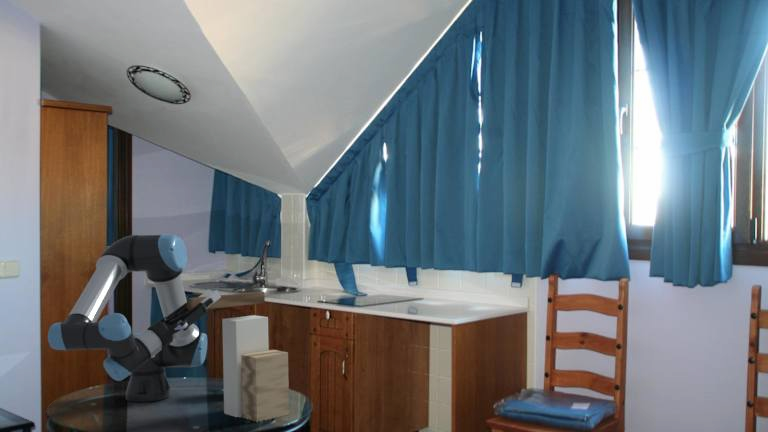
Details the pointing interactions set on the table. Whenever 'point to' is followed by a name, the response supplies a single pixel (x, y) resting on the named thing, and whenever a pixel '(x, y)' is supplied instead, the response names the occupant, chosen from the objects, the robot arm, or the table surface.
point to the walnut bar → (230, 300)
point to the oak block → (265, 385)
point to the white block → (237, 341)
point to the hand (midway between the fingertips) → (214, 293)
